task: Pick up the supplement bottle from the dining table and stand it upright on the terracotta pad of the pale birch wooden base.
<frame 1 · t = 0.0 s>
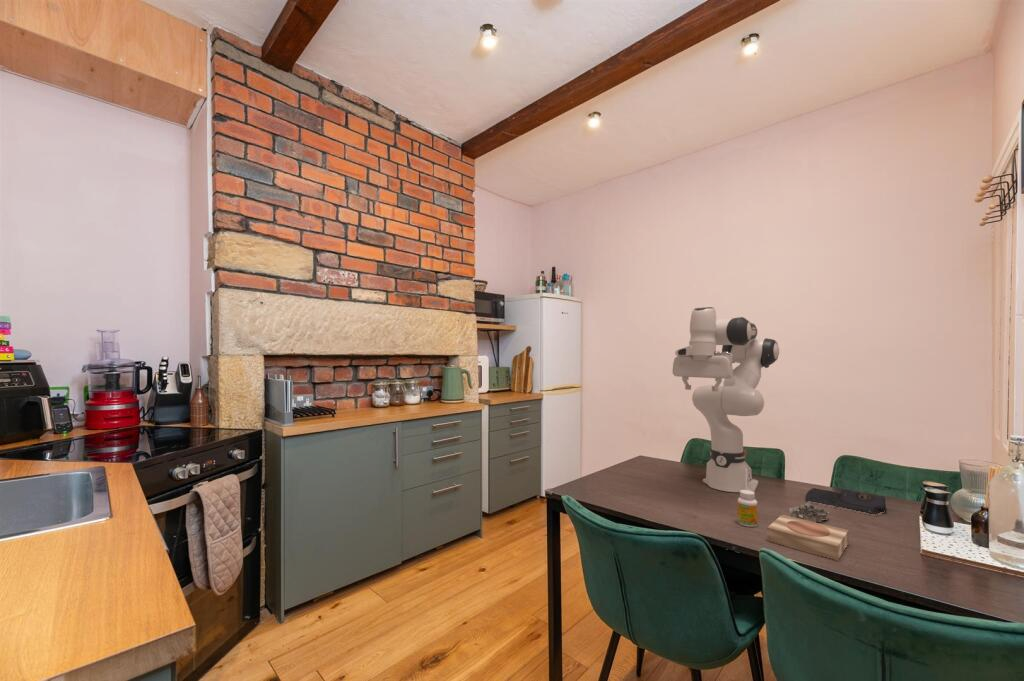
hand: (701, 390, 154), 39 cm above the table, tool pointing down, fingers open, 8 cm apart
supplement bottle: (747, 524, 133), on the table
grey gravel pile: (808, 520, 137), on the table
dark slate chunk: (844, 505, 151), on the table
birch base: (807, 542, 120), on the table
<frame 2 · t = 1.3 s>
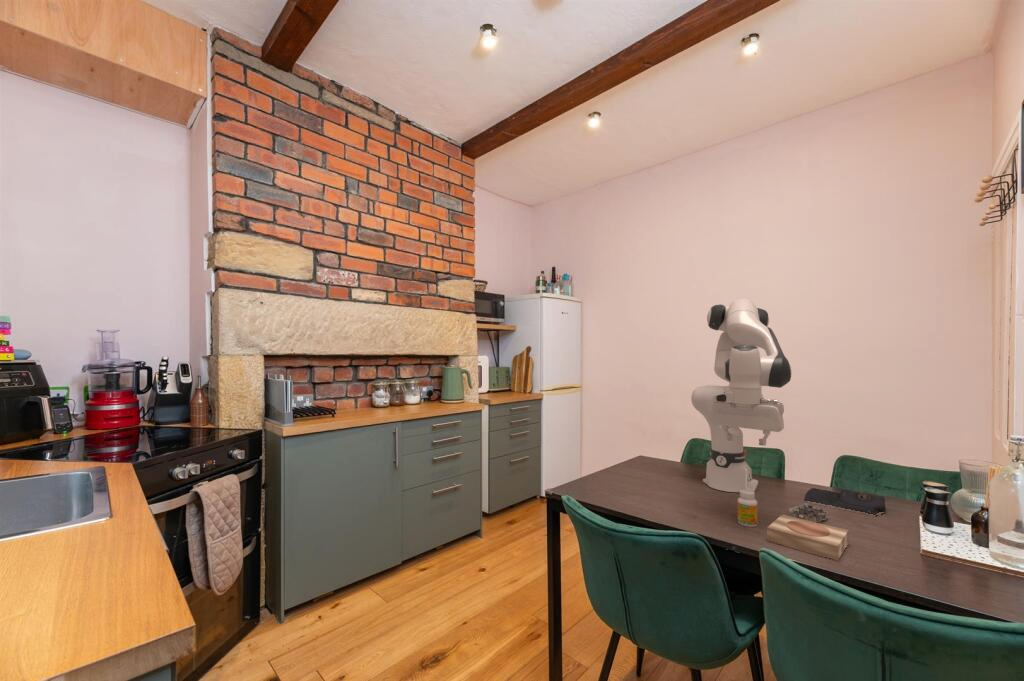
hand: (745, 442, 134), 25 cm above the table, tool pointing down, fingers open, 8 cm apart
nothing on the table moved.
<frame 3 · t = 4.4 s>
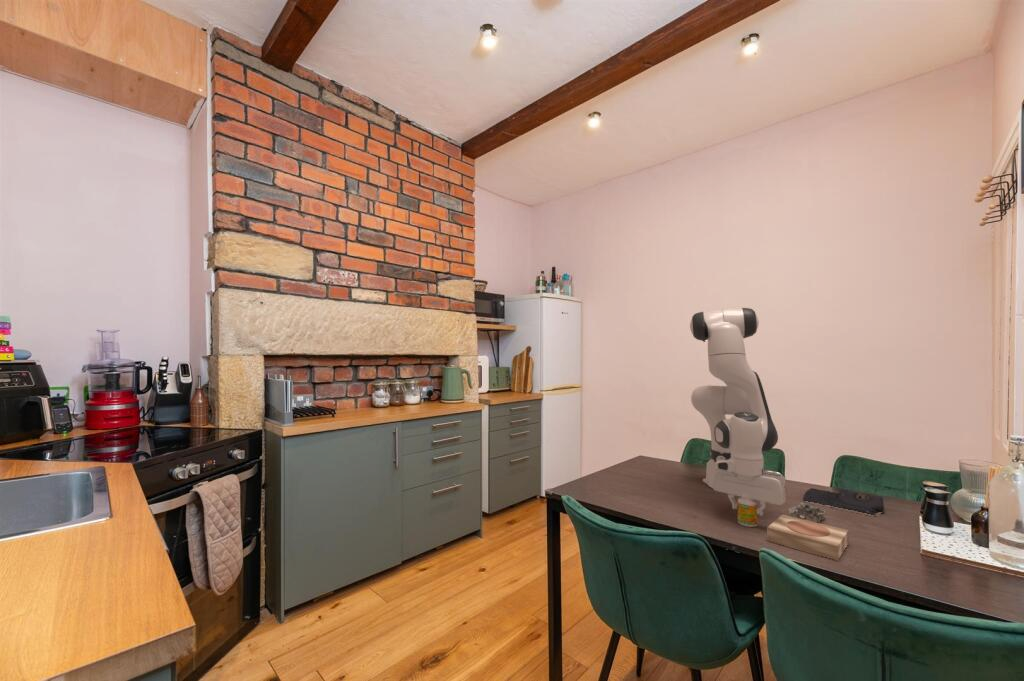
hand: (747, 511, 133), 4 cm above the table, tool pointing down, fingers closed on supplement bottle, 5 cm apart
supplement bottle: (747, 524, 133), on the table, touching gripper
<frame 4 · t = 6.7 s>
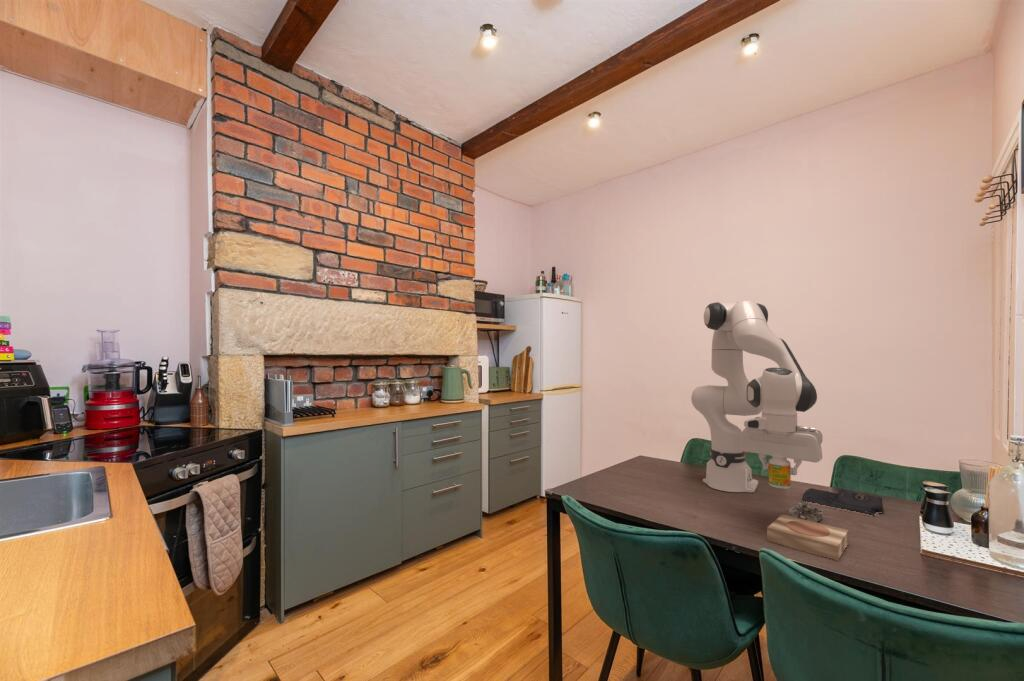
hand: (779, 472, 126), 18 cm above the table, tool pointing down, fingers closed on supplement bottle, 5 cm apart
supplement bottle: (779, 486, 126), point 14 cm above the table, touching gripper
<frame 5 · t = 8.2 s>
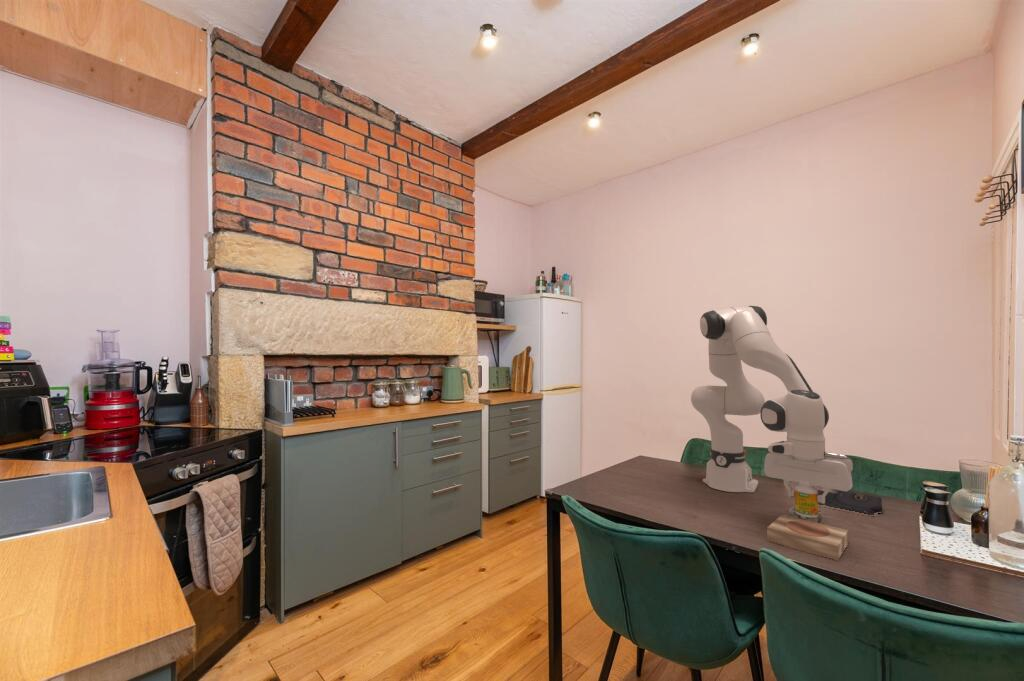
hand: (806, 499, 121), 12 cm above the table, tool pointing down, fingers closed on supplement bottle, 5 cm apart
supplement bottle: (806, 515, 120), point 8 cm above the table, touching gripper
when the fingers open (9 cm above the table, at t = 9.5 s): supplement bottle stays where it is, resting on birch base.
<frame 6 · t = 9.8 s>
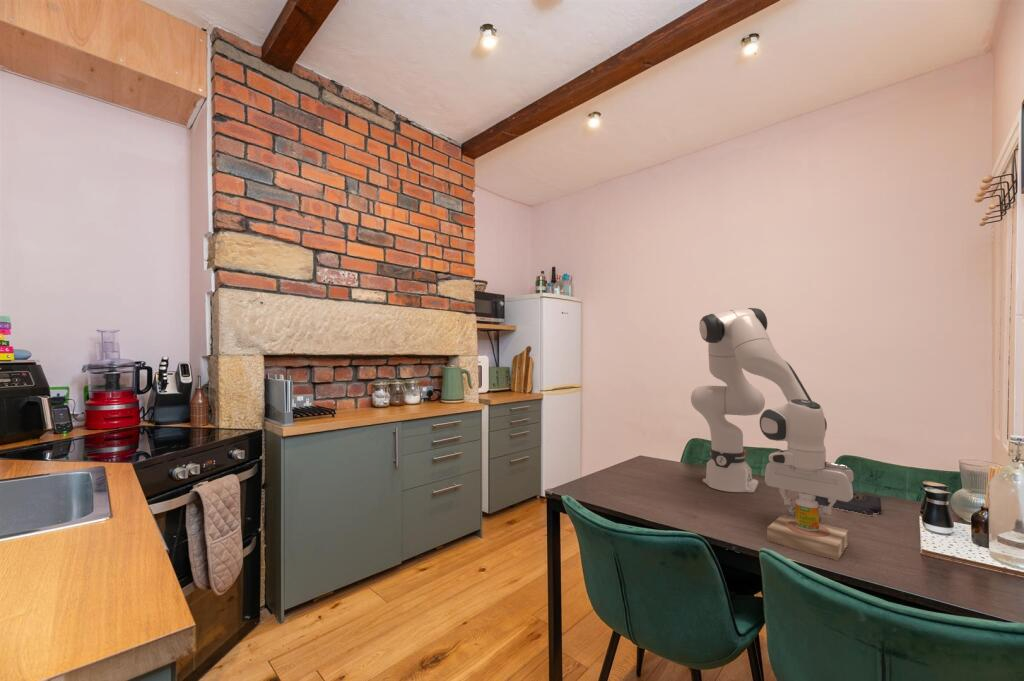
hand: (807, 509, 121), 9 cm above the table, tool pointing down, fingers open, 8 cm apart
supplement bottle: (807, 528, 120), point 4 cm above the table, touching birch base
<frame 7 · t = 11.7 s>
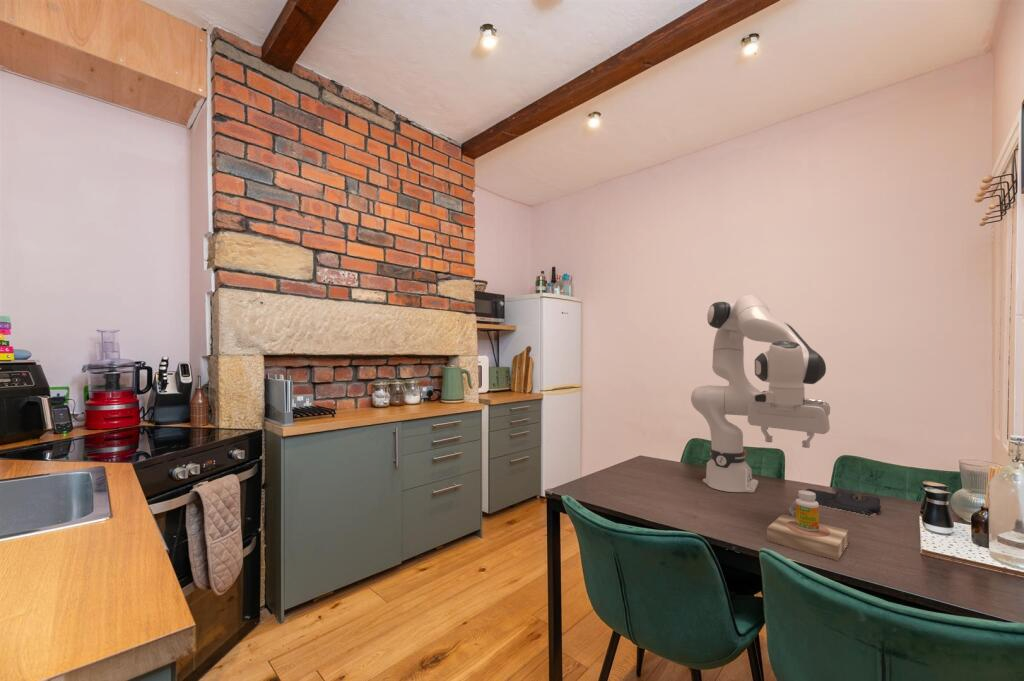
hand: (786, 444, 127), 26 cm above the table, tool pointing down, fingers open, 8 cm apart
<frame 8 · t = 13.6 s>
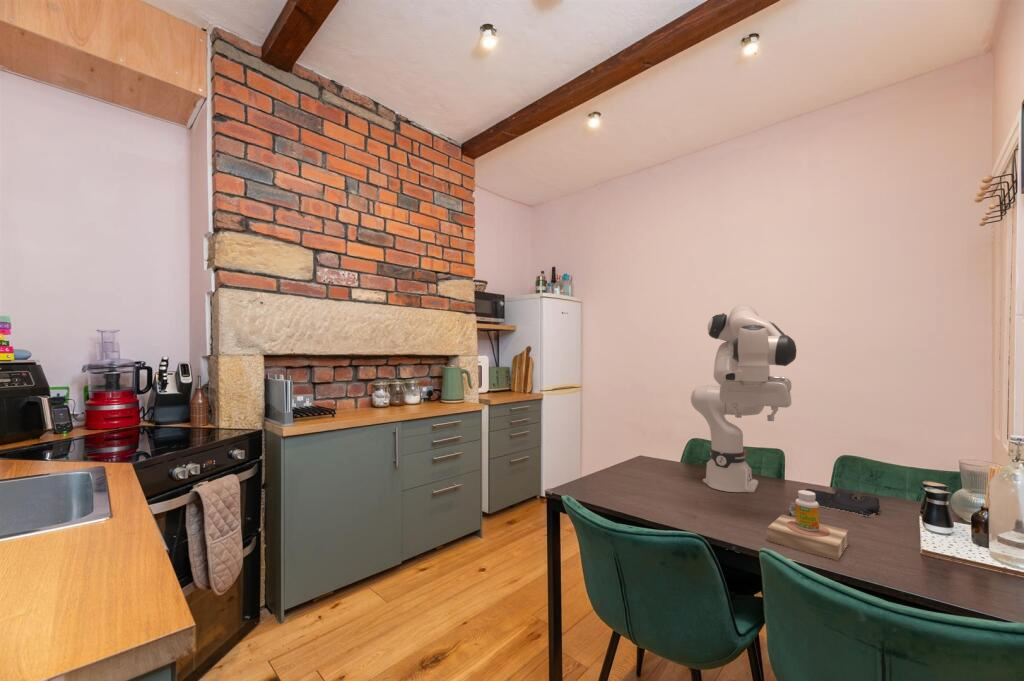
hand: (754, 419, 139), 31 cm above the table, tool pointing down, fingers open, 8 cm apart
at the end: supplement bottle inside the target area on the birch base (0.1 cm from its centre), point 3.8 cm above the birch base's base; supplement bottle tilted 0°; the gripper is holding nothing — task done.
